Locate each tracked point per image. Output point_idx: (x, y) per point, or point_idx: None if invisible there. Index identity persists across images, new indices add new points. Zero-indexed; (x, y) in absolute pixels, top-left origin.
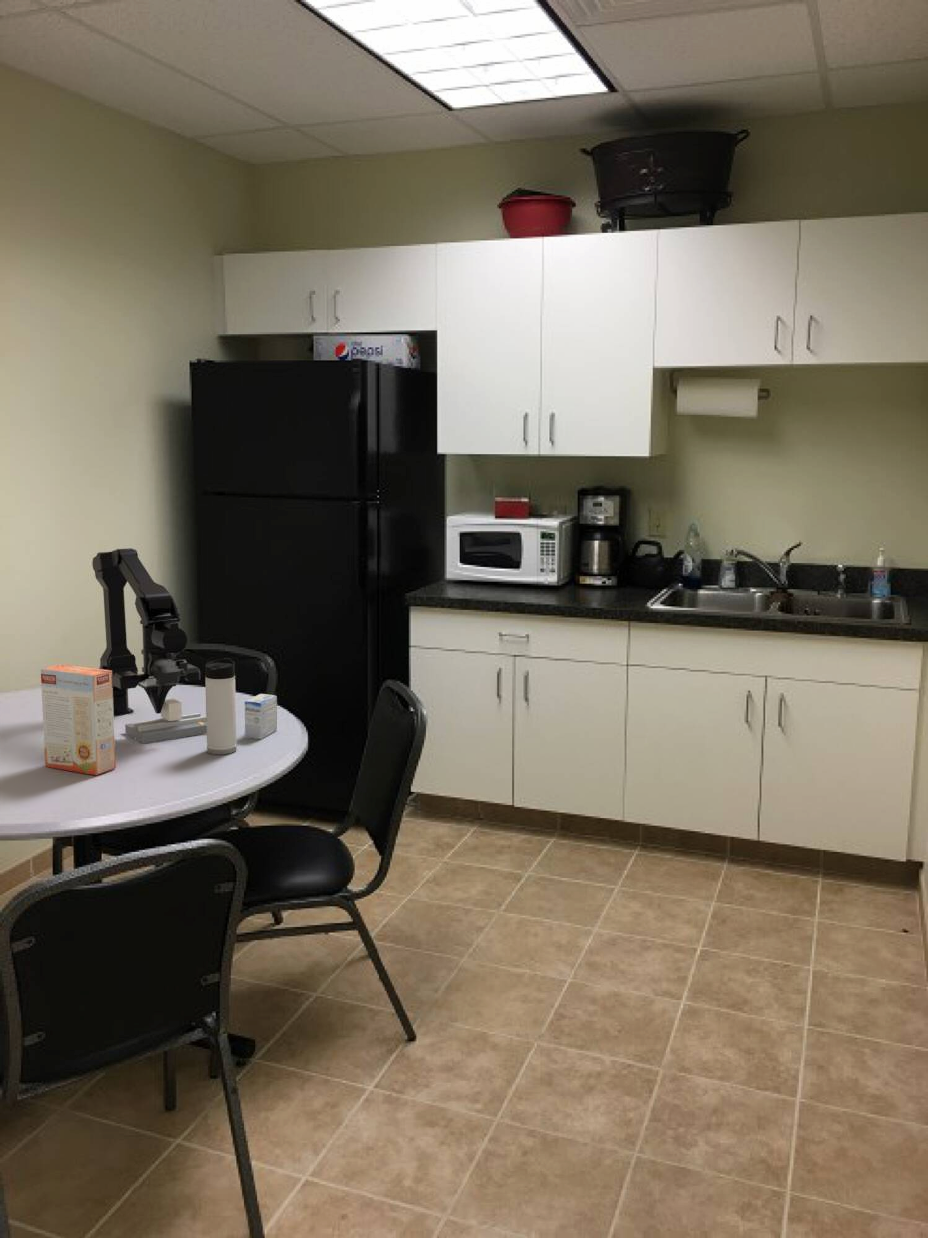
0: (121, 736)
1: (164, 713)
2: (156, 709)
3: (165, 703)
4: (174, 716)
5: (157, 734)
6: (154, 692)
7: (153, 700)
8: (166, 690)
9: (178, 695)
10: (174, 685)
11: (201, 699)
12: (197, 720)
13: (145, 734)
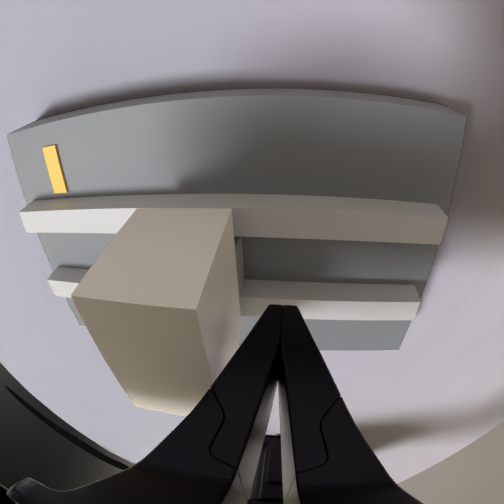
0: (433, 287)
1: (230, 308)
2: (307, 328)
3: (211, 359)
4: (179, 225)
5: (370, 99)
6: (349, 488)
7: (342, 404)
8: (169, 479)
9: (130, 443)
10: (31, 495)
11: (87, 413)
12: (62, 205)
13: (449, 123)
